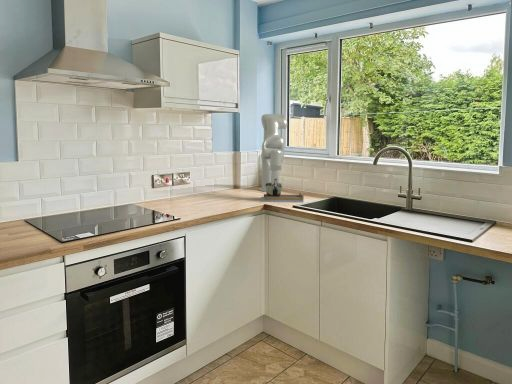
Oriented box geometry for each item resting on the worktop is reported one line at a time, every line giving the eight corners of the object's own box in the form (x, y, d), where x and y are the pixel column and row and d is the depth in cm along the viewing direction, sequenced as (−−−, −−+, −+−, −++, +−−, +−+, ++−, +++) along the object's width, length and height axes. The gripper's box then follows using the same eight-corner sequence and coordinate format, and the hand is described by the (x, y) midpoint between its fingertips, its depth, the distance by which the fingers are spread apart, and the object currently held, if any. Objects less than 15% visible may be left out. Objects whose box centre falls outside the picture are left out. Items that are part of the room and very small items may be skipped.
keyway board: (261, 198, 288) (261, 191, 288) (301, 199, 289) (301, 191, 288) (261, 201, 277) (261, 193, 276) (303, 202, 277) (303, 194, 276)
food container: (284, 197, 284) (285, 183, 282) (281, 199, 278) (282, 184, 277) (268, 196, 289) (268, 181, 287) (264, 197, 283) (265, 183, 281)
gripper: (269, 166, 288) (268, 192, 291) (270, 169, 271) (269, 196, 274) (280, 167, 288) (279, 192, 291) (282, 169, 271) (281, 196, 274)
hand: (274, 194), depth 282 cm, fingers closed on food container, 6 cm apart
